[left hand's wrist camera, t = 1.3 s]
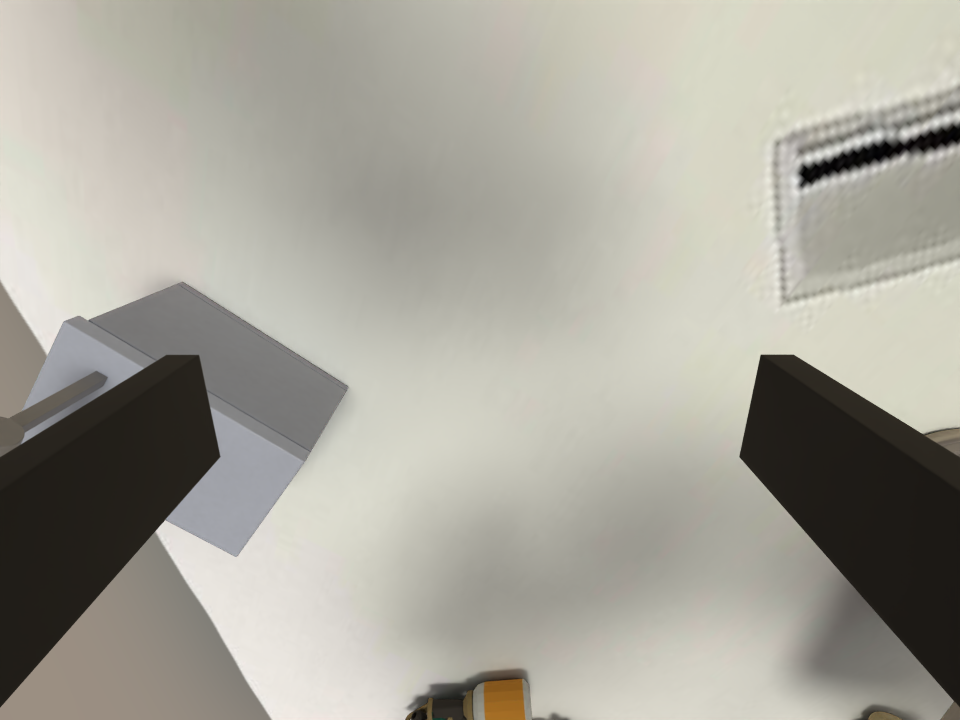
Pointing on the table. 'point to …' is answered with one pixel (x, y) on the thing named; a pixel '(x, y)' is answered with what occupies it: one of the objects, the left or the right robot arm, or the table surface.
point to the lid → (241, 439)
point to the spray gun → (482, 703)
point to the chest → (231, 360)
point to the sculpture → (883, 716)
